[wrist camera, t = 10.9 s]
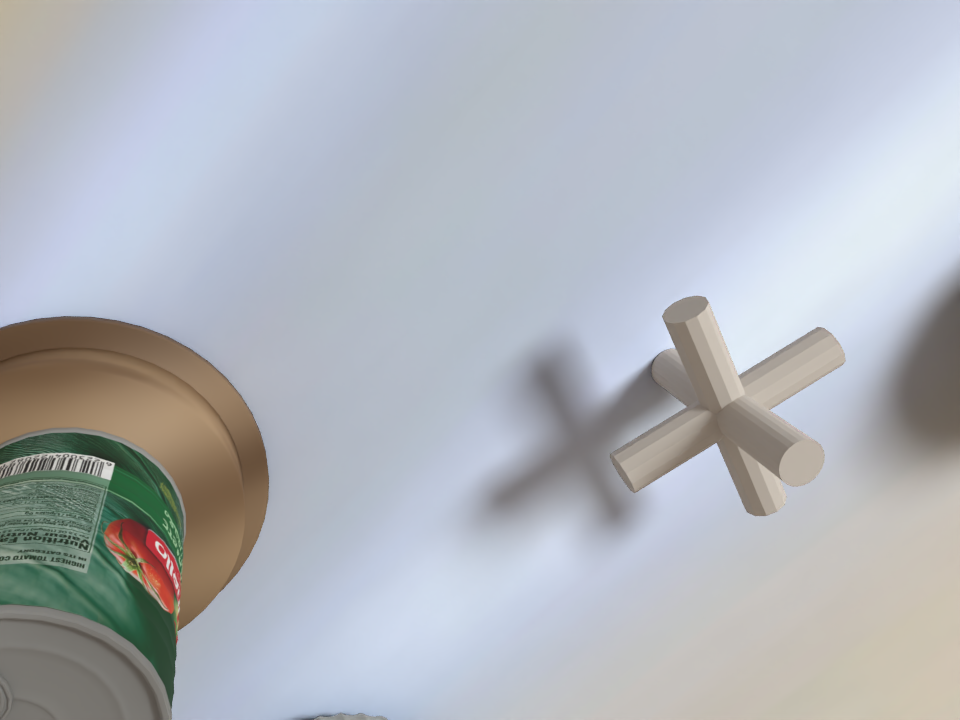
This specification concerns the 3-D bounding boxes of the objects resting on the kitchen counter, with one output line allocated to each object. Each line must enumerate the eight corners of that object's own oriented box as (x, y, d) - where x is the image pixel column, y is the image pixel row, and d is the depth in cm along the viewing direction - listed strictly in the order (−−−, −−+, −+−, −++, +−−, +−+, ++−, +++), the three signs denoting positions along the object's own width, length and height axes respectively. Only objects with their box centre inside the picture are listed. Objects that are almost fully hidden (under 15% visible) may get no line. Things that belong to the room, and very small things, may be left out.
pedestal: (-198, 382, 30) (-239, 415, 28) (202, 270, 33) (201, 291, 30) (-24, 685, 36) (-44, 738, 33) (309, 571, 38) (316, 611, 35)
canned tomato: (223, 561, 34) (225, 779, 24) (24, 653, 33) (-61, 921, 23) (121, 388, 30) (74, 557, 20) (-103, 484, 29) (-268, 710, 19)
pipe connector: (617, 504, 41) (728, 633, 32) (530, 335, 37) (629, 428, 28) (792, 396, 42) (949, 493, 33) (726, 218, 38) (884, 272, 29)
